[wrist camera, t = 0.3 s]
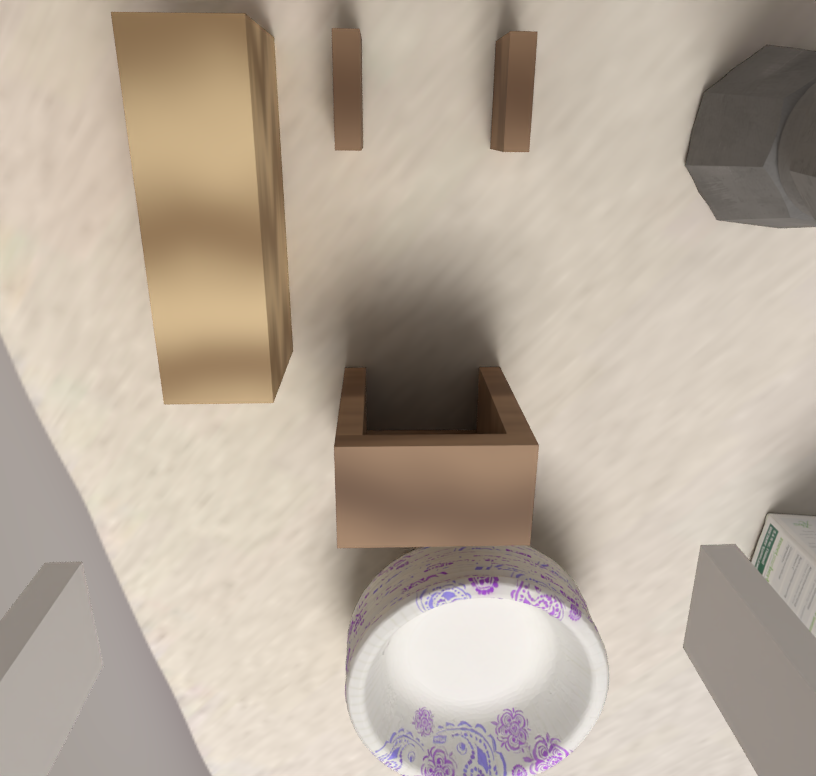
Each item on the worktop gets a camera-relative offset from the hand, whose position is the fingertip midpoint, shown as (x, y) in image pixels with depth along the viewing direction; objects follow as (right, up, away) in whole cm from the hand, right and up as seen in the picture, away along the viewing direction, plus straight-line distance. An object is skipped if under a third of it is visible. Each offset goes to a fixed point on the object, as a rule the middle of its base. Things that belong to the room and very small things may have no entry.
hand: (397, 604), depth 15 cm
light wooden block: (-9, +14, +22) cm, 27 cm away
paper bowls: (+4, -10, +31) cm, 33 cm away
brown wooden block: (+1, +3, +26) cm, 26 cm away
